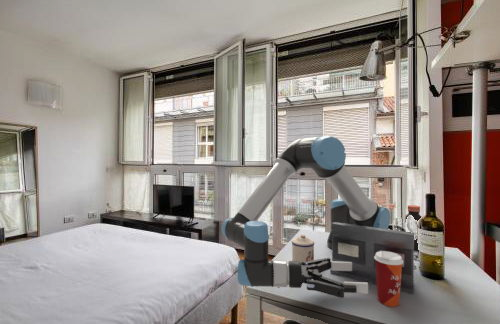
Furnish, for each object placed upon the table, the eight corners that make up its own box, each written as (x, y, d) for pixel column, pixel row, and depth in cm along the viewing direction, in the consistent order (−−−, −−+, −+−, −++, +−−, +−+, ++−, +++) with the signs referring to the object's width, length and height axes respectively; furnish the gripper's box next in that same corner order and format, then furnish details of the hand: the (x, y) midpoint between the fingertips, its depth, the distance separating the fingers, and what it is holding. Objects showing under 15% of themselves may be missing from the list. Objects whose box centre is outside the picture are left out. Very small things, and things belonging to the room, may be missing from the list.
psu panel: (336, 265, 101) (336, 220, 101) (413, 283, 86) (414, 231, 86) (330, 272, 94) (330, 225, 94) (412, 293, 80) (413, 237, 79)
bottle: (425, 250, 117) (426, 207, 116) (413, 251, 115) (414, 207, 115) (413, 245, 123) (413, 204, 123) (401, 246, 122) (401, 205, 121)
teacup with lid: (310, 269, 97) (310, 239, 97) (288, 264, 102) (288, 236, 102) (319, 259, 107) (319, 231, 107) (298, 254, 112) (298, 228, 112)
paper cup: (399, 312, 70) (399, 262, 70) (370, 302, 75) (370, 255, 75) (405, 300, 76) (406, 254, 76) (378, 291, 81) (378, 248, 81)
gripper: (285, 268, 90) (346, 270, 89) (291, 310, 65) (376, 314, 64) (285, 247, 90) (346, 248, 88) (291, 281, 65) (376, 284, 64)
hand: (359, 276), depth 76 cm, fingers open, 13 cm apart
